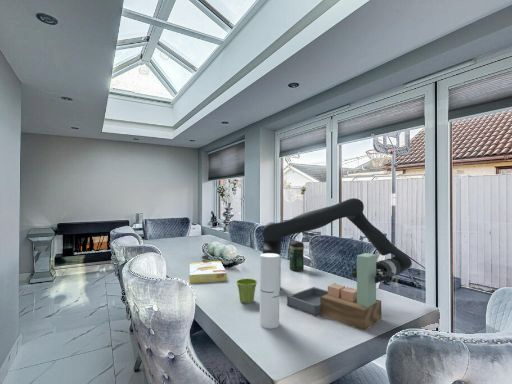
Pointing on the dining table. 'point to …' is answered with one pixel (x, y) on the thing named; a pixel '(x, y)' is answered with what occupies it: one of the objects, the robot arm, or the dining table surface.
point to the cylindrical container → (269, 290)
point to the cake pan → (206, 258)
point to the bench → (350, 312)
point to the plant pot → (246, 289)
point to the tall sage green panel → (366, 279)
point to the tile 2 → (349, 294)
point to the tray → (307, 300)
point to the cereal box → (207, 272)
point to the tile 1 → (335, 290)
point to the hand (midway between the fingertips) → (364, 277)
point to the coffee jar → (296, 256)
